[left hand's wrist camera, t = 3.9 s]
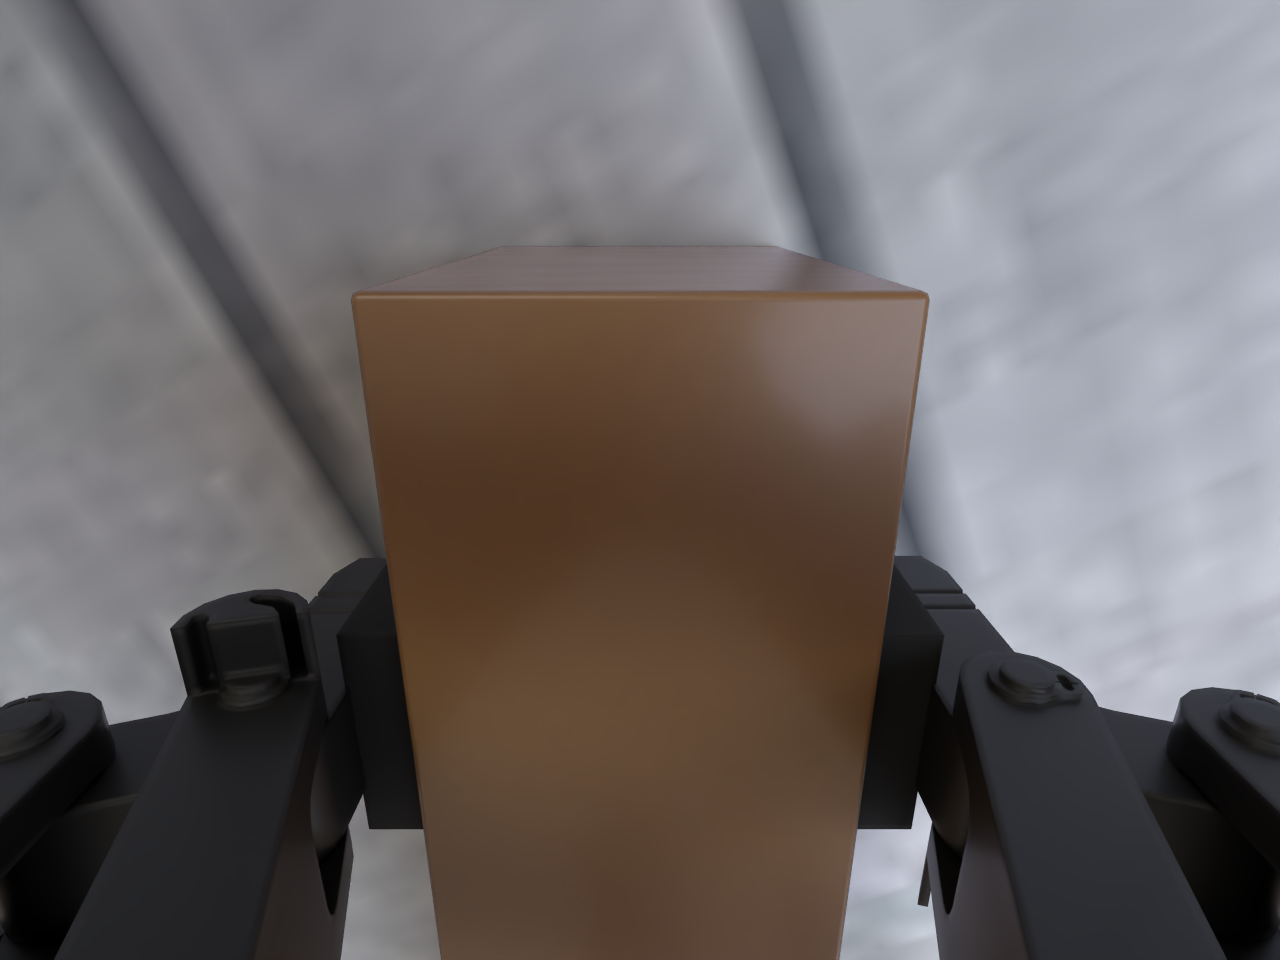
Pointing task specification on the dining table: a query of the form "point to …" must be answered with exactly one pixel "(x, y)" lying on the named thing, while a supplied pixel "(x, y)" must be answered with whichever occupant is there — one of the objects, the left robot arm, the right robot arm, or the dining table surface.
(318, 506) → the dining table surface
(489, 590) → the bar
